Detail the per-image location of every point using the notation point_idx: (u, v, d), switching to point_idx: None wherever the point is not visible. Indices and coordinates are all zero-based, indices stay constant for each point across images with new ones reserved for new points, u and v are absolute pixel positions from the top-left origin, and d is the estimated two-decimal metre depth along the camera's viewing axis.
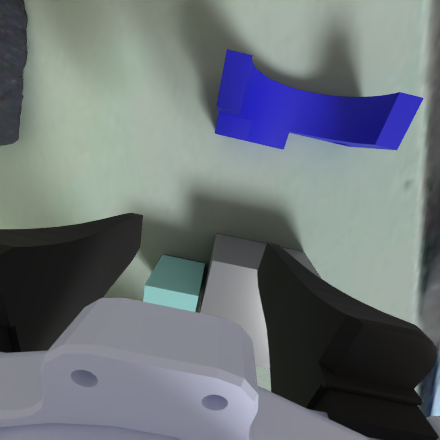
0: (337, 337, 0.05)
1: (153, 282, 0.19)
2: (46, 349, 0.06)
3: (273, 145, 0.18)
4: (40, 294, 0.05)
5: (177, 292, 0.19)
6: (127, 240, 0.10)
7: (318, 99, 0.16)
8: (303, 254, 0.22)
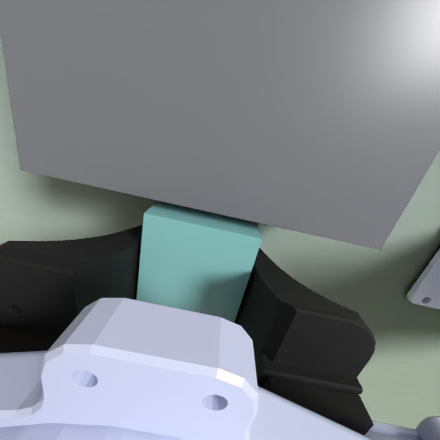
0: (275, 325, 0.05)
1: None
2: None
3: None
4: None
5: (141, 263, 0.07)
6: None
7: None
8: None
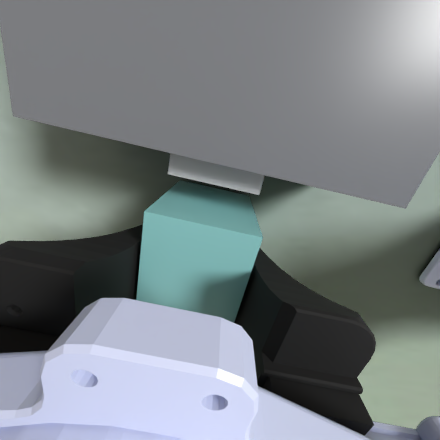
0: (276, 325, 0.05)
1: None
2: None
3: None
4: None
5: (141, 261, 0.07)
6: None
7: None
8: None
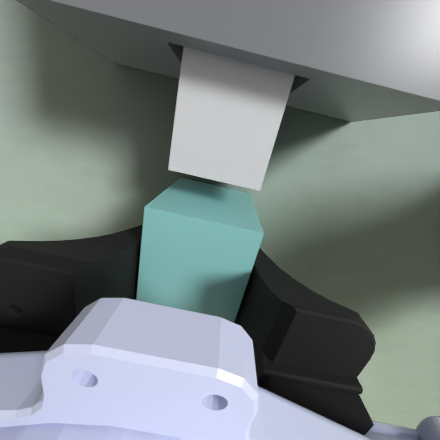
0: (276, 325, 0.05)
1: None
2: None
3: None
4: None
5: (141, 258, 0.07)
6: None
7: None
8: None
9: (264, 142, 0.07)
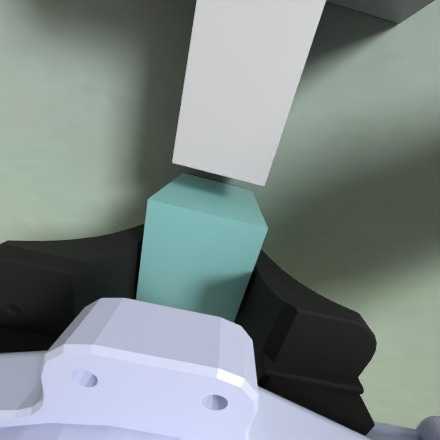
0: (277, 325, 0.05)
1: None
2: None
3: None
4: None
5: (143, 251, 0.07)
6: None
7: None
8: None
9: (270, 137, 0.07)
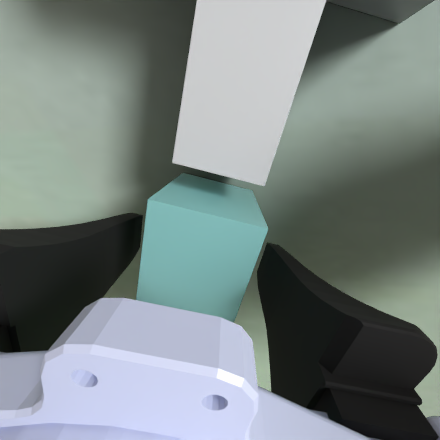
0: (337, 337, 0.05)
1: None
2: (46, 349, 0.06)
3: None
4: (40, 294, 0.05)
5: (143, 251, 0.07)
6: (127, 240, 0.10)
7: None
8: None
9: (270, 137, 0.07)
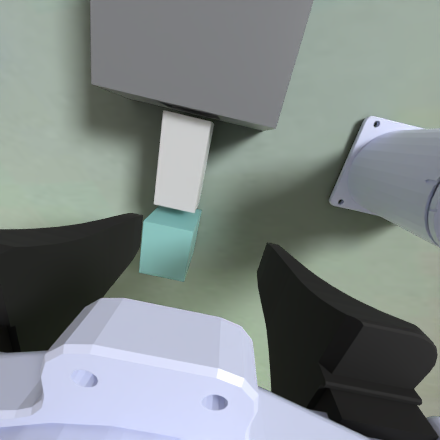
0: (337, 337, 0.05)
1: None
2: (46, 349, 0.06)
3: None
4: (40, 294, 0.05)
5: (142, 242, 0.17)
6: (127, 240, 0.10)
7: None
8: None
9: (193, 193, 0.16)
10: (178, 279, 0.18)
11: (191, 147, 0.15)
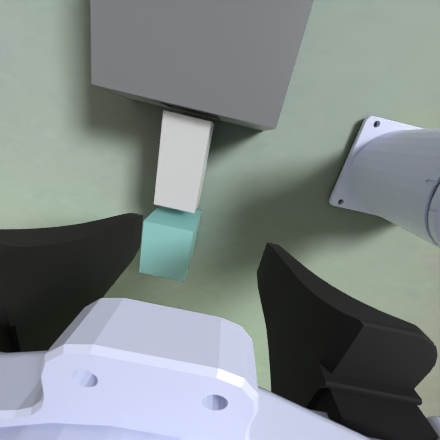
0: (337, 337, 0.05)
1: None
2: (46, 349, 0.06)
3: None
4: (40, 294, 0.05)
5: (142, 242, 0.17)
6: (127, 240, 0.10)
7: None
8: None
9: (193, 193, 0.16)
10: (178, 279, 0.18)
11: (191, 147, 0.15)
